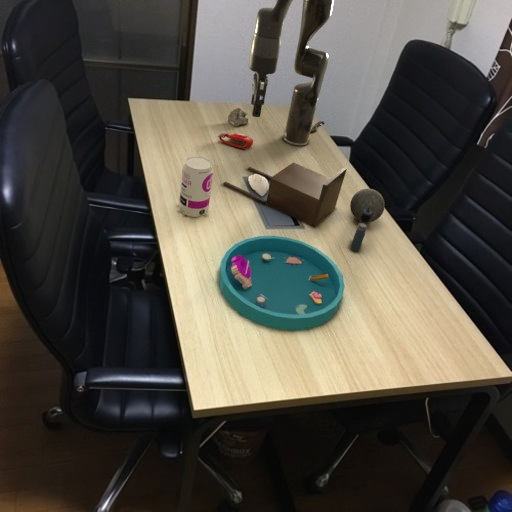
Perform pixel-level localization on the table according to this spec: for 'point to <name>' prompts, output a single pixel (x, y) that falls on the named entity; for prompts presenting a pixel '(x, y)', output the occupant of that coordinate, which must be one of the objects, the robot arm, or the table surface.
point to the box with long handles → (300, 192)
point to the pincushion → (259, 183)
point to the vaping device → (361, 230)
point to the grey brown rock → (237, 117)
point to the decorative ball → (367, 204)
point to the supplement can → (195, 186)
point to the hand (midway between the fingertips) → (255, 110)
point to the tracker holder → (237, 137)
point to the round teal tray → (281, 283)
